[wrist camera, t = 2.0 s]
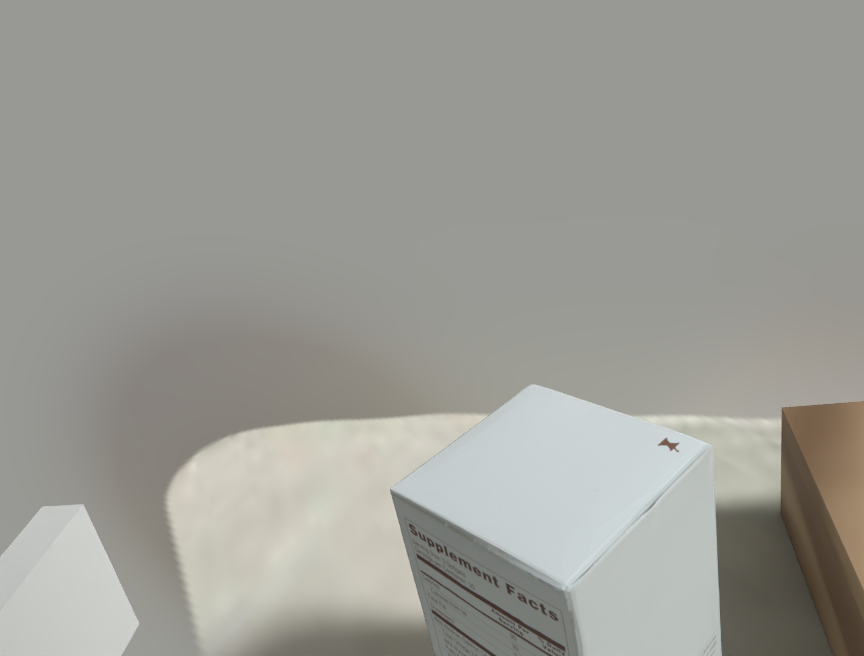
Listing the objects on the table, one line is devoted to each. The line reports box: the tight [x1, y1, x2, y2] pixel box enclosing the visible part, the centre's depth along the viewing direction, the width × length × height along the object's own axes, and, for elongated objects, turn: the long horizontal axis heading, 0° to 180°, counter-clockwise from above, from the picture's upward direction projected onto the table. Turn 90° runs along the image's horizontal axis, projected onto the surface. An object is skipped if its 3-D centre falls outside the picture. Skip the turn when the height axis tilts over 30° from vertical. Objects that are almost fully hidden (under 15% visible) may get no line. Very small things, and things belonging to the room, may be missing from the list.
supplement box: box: [390, 384, 722, 656], centre depth 27 cm, size 7×7×13 cm
